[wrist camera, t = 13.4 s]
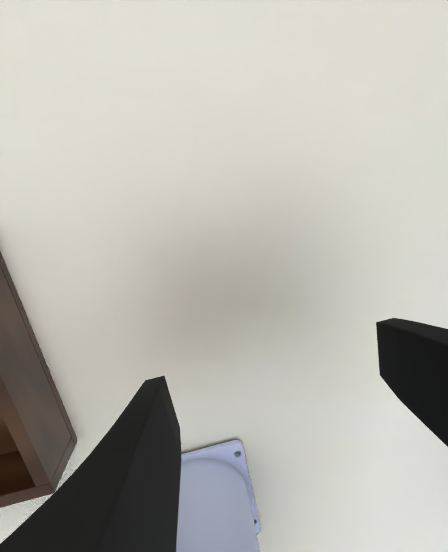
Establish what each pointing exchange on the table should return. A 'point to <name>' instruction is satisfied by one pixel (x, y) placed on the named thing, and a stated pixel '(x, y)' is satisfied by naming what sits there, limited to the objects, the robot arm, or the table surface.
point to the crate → (27, 408)
